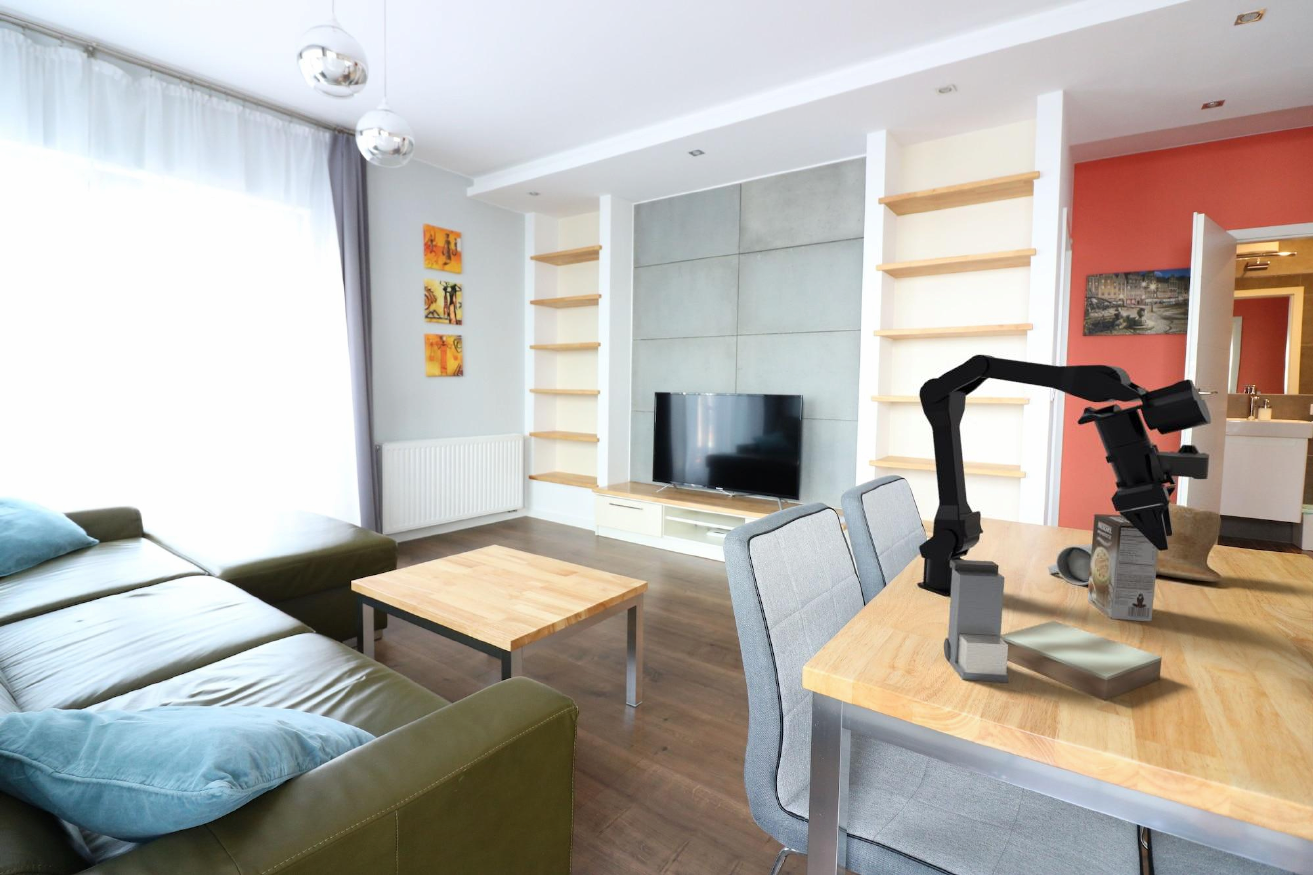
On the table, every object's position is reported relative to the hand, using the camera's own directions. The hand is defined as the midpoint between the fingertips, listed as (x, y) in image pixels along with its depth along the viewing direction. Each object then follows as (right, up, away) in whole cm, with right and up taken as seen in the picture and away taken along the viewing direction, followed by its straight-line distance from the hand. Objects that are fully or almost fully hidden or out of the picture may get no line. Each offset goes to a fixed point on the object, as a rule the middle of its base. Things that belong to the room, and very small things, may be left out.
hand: (1166, 542), depth 95 cm
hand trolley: (-33, -16, -8) cm, 37 cm away
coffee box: (+3, -14, +14) cm, 20 cm away
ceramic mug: (+8, -13, +32) cm, 35 cm away
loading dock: (-19, -16, -8) cm, 26 cm away
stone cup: (+30, -13, +36) cm, 49 cm away
